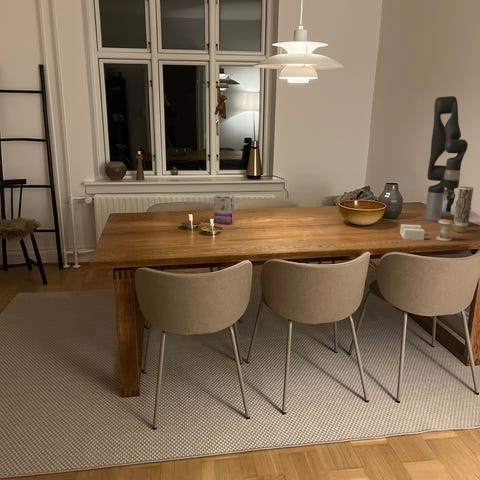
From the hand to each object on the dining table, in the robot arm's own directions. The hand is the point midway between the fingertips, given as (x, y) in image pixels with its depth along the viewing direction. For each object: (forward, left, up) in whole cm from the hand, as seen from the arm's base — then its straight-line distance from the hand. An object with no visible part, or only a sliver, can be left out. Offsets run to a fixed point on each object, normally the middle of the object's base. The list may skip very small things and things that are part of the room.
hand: (447, 210), depth 250 cm
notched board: (+2, -17, -15) cm, 23 cm away
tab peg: (0, 0, -2) cm, 2 cm away
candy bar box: (-8, -122, -15) cm, 123 cm away
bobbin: (+4, -1, -15) cm, 15 cm away
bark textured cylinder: (-27, +16, -15) cm, 35 cm away
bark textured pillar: (-13, +12, -15) cm, 23 cm away
